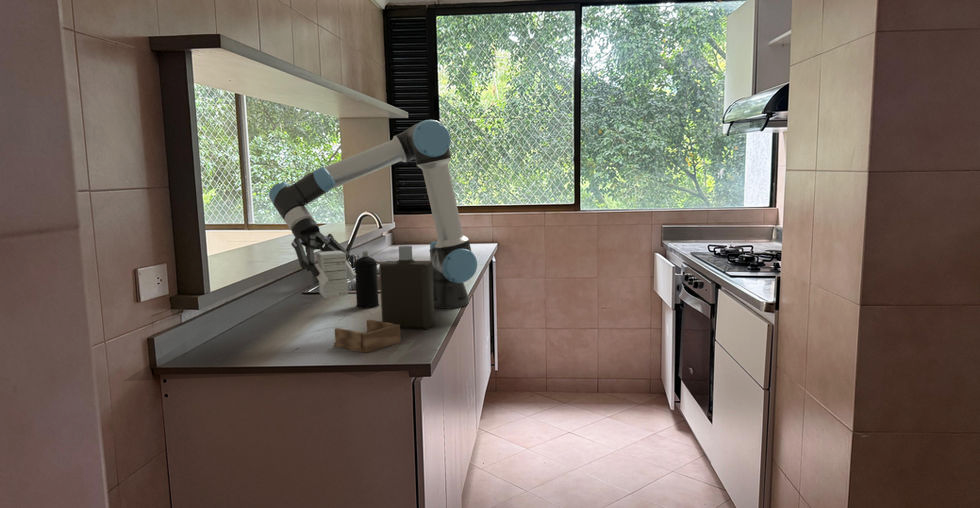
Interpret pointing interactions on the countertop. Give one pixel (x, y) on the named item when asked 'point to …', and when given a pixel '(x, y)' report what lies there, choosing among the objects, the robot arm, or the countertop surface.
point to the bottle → (407, 291)
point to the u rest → (368, 337)
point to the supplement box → (333, 273)
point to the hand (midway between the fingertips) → (339, 280)
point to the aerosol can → (366, 282)
